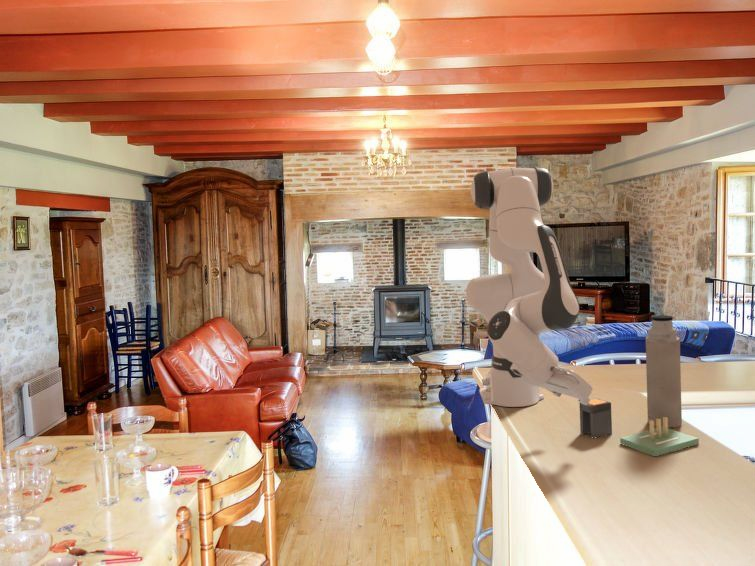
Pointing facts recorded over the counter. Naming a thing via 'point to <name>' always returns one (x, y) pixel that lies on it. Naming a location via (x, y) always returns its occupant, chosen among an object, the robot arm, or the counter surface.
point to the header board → (659, 439)
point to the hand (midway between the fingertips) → (572, 398)
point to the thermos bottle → (663, 372)
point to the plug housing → (596, 418)
